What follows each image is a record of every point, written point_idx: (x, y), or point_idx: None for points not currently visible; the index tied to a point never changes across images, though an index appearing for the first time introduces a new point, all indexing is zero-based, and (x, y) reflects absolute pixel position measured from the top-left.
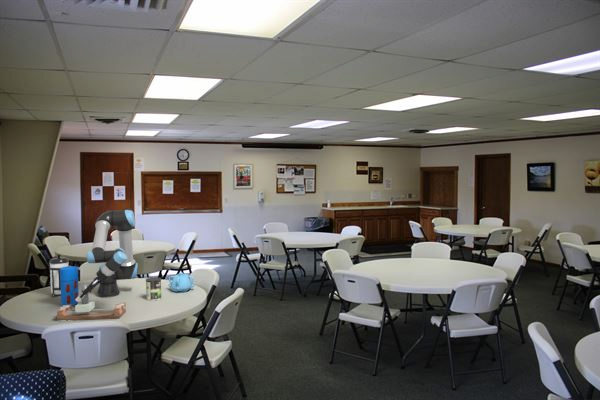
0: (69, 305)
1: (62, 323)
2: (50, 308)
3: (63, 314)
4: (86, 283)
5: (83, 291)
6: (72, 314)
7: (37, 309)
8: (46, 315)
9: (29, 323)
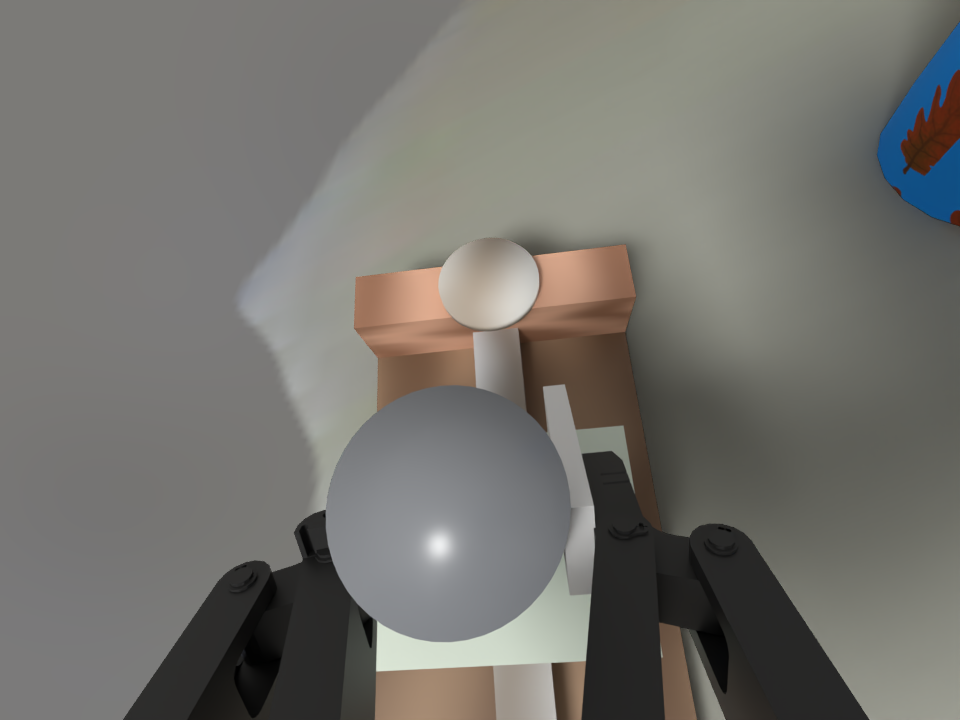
0: (591, 292)
1: (308, 408)
2: (786, 75)
3: (397, 345)
4: (559, 530)
5: (209, 607)
6: None
7: (740, 6)
8: (568, 154)
9: (358, 152)
